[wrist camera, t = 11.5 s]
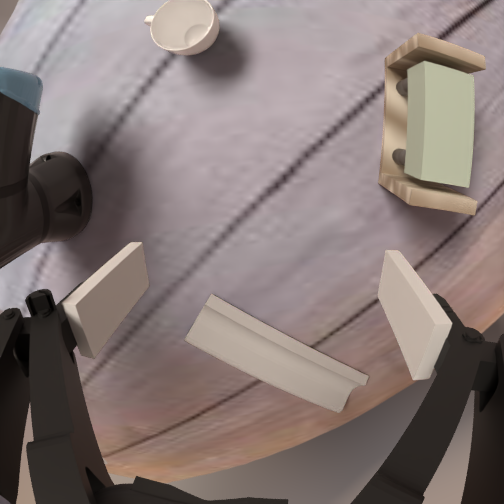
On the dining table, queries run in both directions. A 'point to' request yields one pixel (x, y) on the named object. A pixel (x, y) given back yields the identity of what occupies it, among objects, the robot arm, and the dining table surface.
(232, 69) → the dining table surface
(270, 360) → the crown molding
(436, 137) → the pale green block
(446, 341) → the robot arm
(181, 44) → the cup
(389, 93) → the frame
